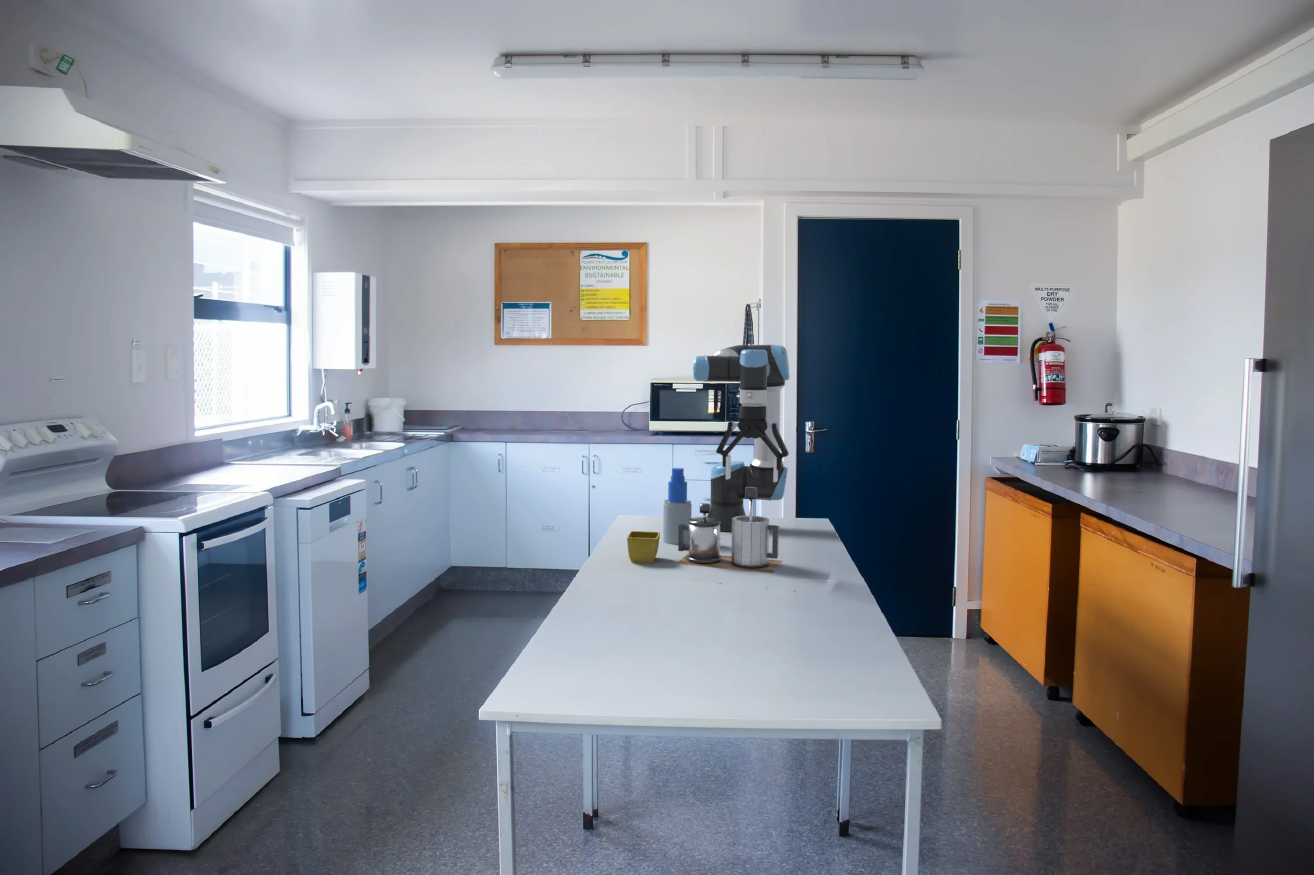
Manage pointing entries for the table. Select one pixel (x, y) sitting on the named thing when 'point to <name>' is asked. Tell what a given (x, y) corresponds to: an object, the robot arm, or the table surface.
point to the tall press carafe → (753, 542)
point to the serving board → (727, 564)
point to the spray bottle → (676, 508)
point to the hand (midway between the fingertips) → (751, 480)
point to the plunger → (750, 494)
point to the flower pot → (643, 546)
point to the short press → (701, 538)
